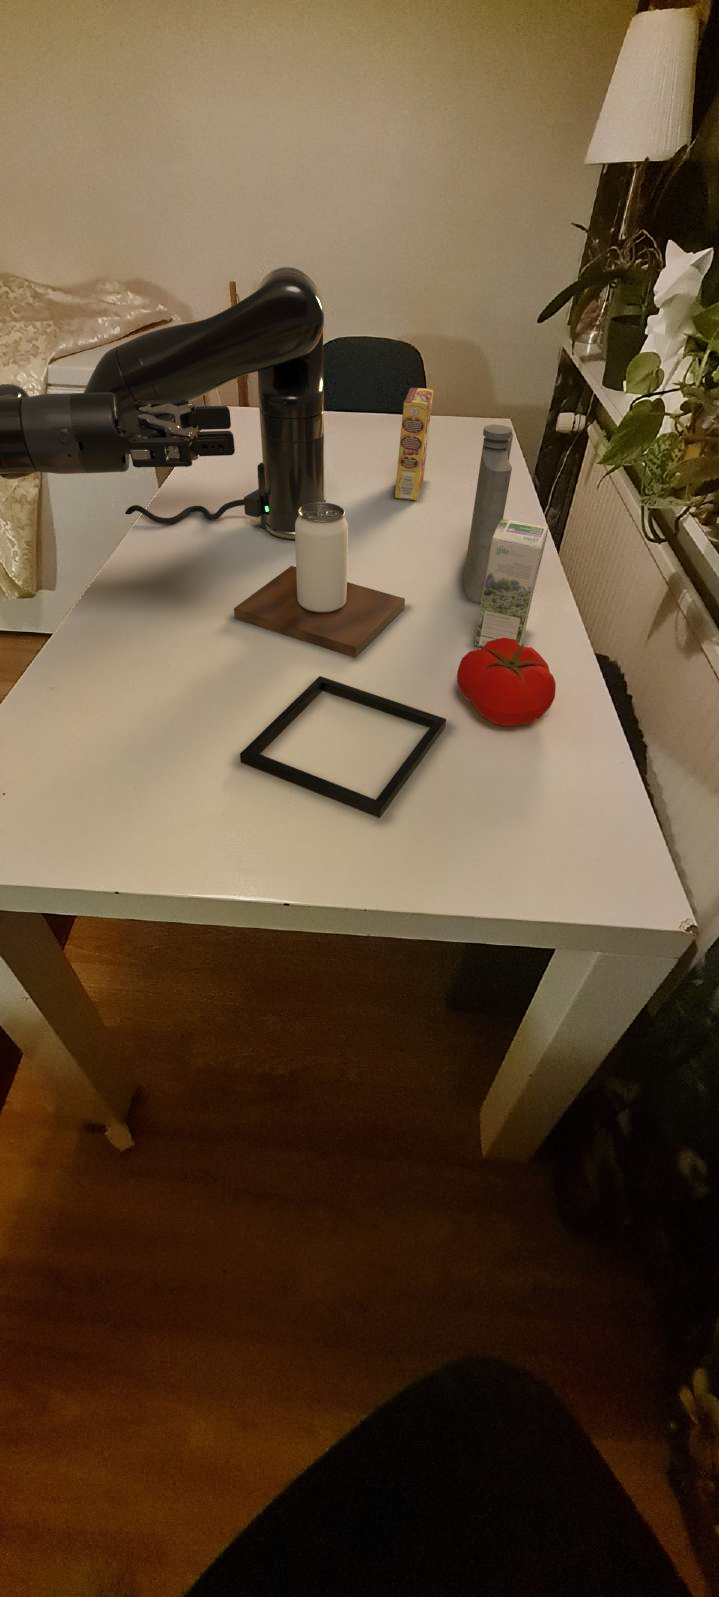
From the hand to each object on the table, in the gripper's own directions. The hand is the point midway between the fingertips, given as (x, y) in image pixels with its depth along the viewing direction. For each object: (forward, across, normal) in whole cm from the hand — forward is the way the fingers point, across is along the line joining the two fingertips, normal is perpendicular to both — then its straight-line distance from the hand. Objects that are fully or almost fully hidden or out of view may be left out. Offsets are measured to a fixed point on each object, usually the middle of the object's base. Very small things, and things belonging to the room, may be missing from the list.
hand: (232, 429), depth 77 cm
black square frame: (+8, +27, -23) cm, 37 cm away
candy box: (+31, -40, -23) cm, 56 cm away
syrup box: (+31, +9, -23) cm, 40 cm away
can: (+10, 0, -22) cm, 24 cm away
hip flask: (+33, -8, -23) cm, 42 cm away
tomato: (+27, +23, -23) cm, 42 cm away
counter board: (+9, 0, -23) cm, 25 cm away
